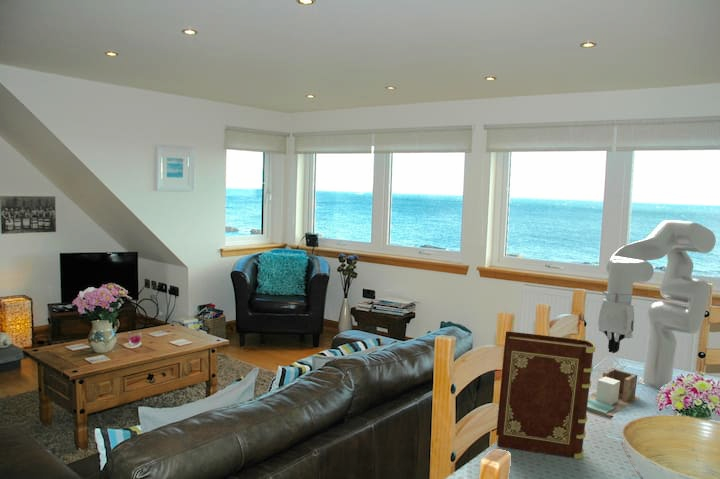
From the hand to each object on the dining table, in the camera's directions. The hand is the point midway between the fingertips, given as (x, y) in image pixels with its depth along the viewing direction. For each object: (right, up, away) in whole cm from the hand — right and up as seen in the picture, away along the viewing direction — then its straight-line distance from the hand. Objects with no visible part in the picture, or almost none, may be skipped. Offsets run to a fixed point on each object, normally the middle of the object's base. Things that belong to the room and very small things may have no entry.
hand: (613, 351), depth 183 cm
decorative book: (-36, -19, -34) cm, 53 cm away
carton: (-2, -17, +1) cm, 17 cm away
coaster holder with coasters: (-1, -18, +2) cm, 18 cm away
